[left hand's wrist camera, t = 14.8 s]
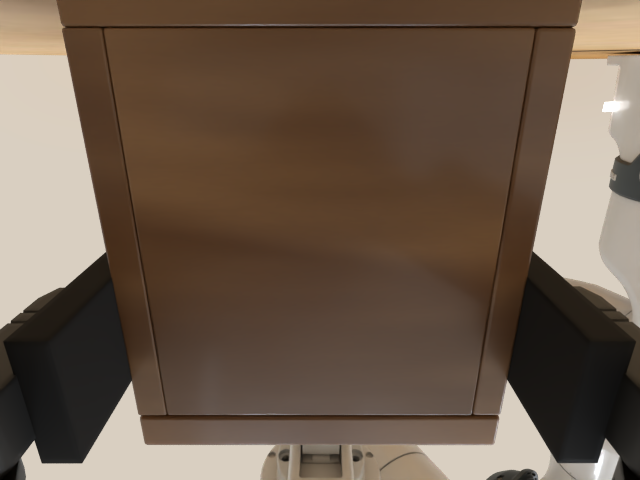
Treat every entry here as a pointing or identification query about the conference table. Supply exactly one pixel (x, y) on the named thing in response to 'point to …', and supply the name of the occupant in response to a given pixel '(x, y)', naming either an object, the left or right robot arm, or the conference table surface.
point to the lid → (319, 429)
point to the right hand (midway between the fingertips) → (320, 331)
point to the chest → (319, 194)
